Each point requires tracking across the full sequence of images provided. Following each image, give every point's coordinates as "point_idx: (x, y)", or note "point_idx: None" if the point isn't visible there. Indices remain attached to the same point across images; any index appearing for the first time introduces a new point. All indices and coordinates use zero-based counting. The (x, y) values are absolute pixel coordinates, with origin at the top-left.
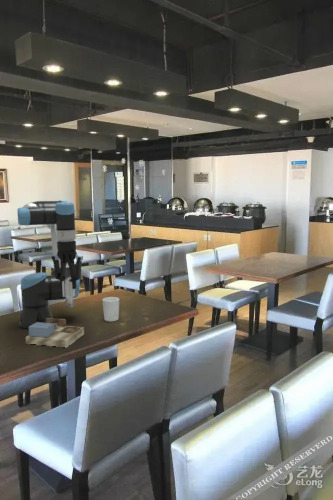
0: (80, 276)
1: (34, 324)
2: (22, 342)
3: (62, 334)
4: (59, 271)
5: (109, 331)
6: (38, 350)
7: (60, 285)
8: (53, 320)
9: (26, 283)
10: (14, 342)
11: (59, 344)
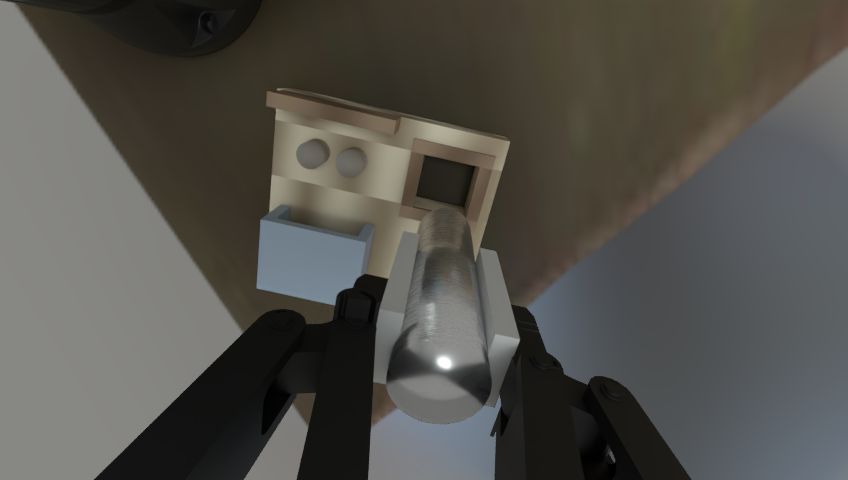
0: (641, 420)
1: (267, 256)
2: (253, 241)
3: None
4: (251, 417)
5: (641, 95)
6: None
7: None
8: (321, 117)
9: None
10: (220, 240)
11: None
